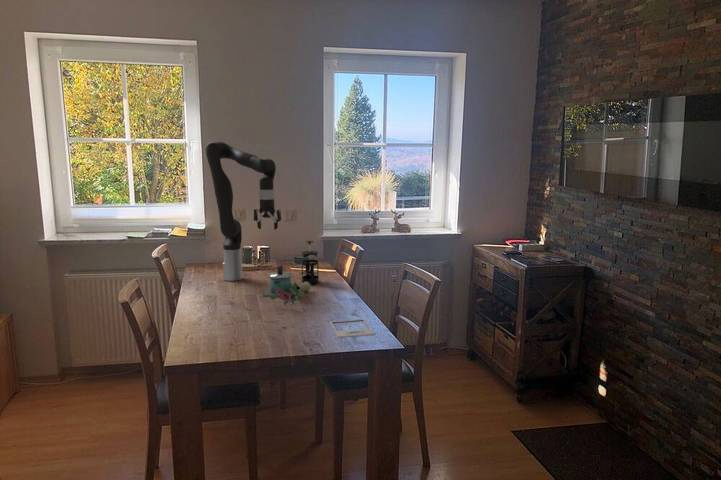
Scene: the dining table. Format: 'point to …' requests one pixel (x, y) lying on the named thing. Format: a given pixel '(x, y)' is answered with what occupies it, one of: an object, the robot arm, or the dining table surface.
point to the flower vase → (294, 288)
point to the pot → (274, 287)
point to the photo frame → (354, 332)
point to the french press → (309, 278)
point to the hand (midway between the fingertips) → (267, 229)
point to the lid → (280, 273)
